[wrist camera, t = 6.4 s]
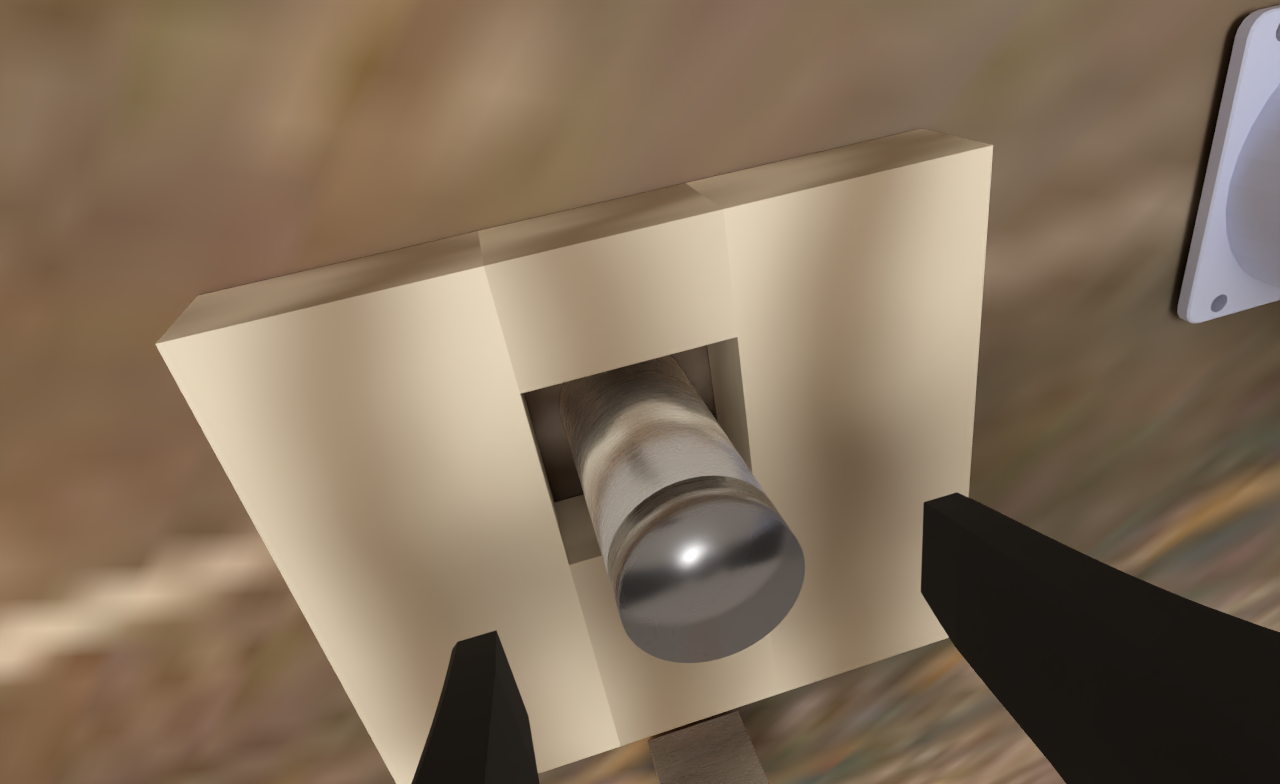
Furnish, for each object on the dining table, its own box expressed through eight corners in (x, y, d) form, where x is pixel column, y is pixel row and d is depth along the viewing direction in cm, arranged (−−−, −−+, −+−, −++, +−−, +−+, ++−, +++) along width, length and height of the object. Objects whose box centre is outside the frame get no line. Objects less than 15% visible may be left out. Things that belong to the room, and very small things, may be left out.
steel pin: (680, 327, 18) (805, 490, 11) (689, 439, 19) (804, 635, 13) (548, 353, 17) (607, 538, 11) (569, 465, 19) (630, 683, 12)
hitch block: (921, 128, 17) (992, 145, 15) (911, 577, 23) (958, 634, 21) (197, 295, 15) (155, 344, 12) (416, 734, 21) (413, 814, 19)
